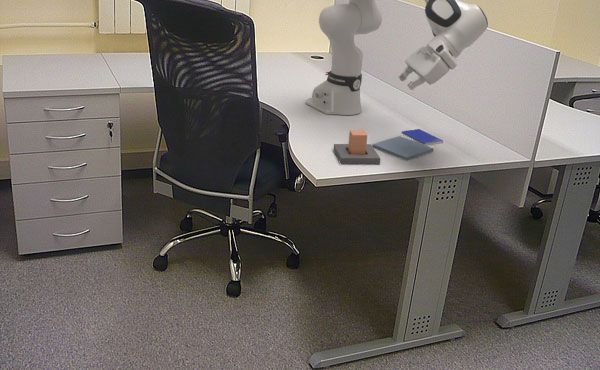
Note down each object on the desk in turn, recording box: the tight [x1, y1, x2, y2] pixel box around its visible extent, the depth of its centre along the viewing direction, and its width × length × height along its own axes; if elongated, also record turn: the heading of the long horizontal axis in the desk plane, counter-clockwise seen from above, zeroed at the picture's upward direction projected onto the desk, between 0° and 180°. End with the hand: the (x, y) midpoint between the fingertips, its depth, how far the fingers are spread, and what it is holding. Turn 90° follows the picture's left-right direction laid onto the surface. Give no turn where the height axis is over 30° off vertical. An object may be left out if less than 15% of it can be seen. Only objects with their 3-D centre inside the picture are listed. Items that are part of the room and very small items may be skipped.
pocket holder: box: [332, 143, 381, 165], centre depth 201 cm, size 12×12×2 cm
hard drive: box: [400, 128, 444, 146], centre depth 221 cm, size 2×8×12 cm
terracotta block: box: [347, 129, 368, 155], centre depth 200 cm, size 4×4×8 cm
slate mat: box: [371, 135, 434, 161], centre depth 210 cm, size 14×14×1 cm
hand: (404, 83), depth 193 cm, fingers open, 8 cm apart
